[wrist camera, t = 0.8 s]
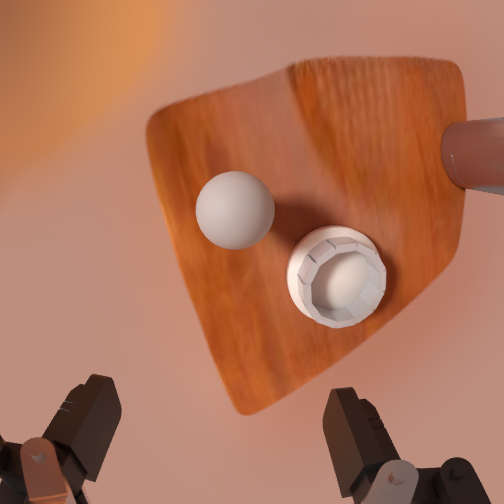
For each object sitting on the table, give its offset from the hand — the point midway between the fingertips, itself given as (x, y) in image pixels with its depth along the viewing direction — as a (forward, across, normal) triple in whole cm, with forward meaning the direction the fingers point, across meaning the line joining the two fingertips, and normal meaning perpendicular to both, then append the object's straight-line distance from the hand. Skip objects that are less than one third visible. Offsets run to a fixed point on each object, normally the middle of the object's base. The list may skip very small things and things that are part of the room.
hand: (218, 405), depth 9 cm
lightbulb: (+23, 0, -5) cm, 24 cm away
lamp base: (+23, -11, +3) cm, 26 cm away
